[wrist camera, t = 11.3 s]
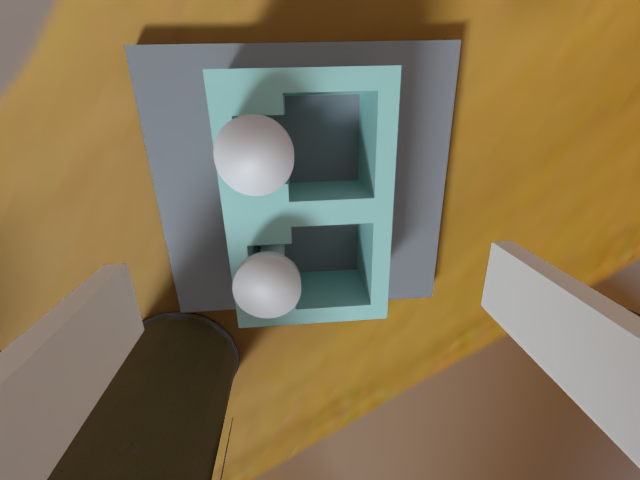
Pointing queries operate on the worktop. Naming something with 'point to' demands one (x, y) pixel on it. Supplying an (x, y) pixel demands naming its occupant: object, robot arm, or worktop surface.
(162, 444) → the canister
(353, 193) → the teal breeze block
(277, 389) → the worktop surface
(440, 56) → the board
